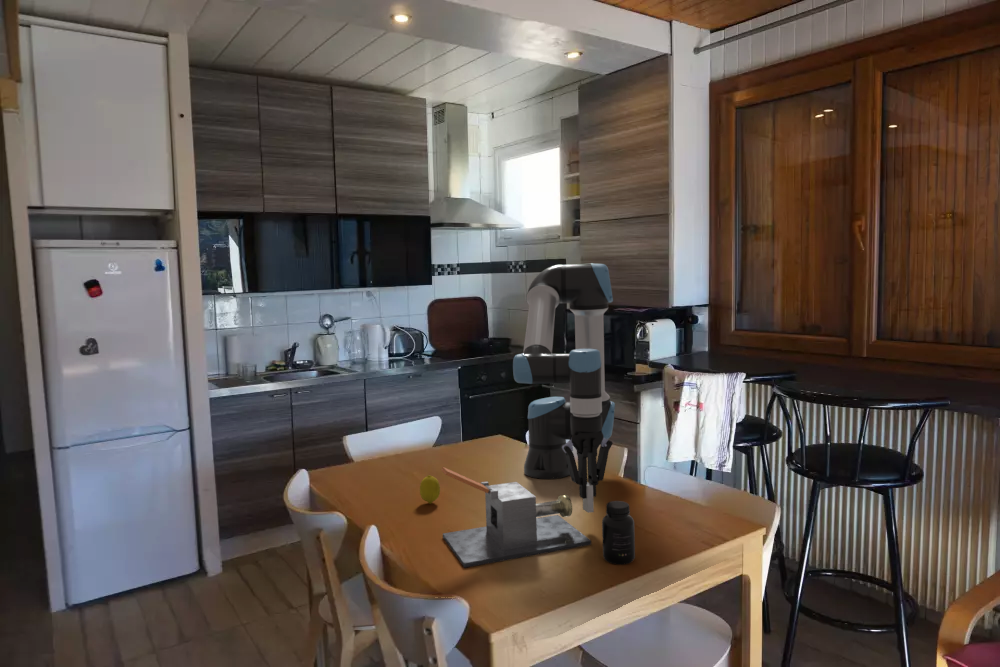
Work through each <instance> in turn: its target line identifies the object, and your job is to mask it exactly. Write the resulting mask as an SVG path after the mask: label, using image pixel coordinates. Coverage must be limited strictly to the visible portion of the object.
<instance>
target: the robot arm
mask: <svg viewBox="0 0 1000 667" xmlns="http://www.w3.org/2000/svg"><path fill="white" fill-rule="evenodd" d="M609 272H610V270H609V268H608V266H607V265H606V264H605V263H593V262H591V263H577V264H576V263H575V264H555V265H551V266H549V267H547V268H545V269H544V270H542V271H541V272H540V273H538V274H537V275H536V277H534V279H533V280H532V282H531V283H530V285H529V287H528V289H527V294H526V302H527V304H528V314H527V320H526V330H525V335H524V336H525V337H524V343H523V344H524V345H523V352H522V353H518V354H515V355H514V357H513V360H512V372H513V373H512V374H513V379H514V382H516V383H518V384H529V385H532V384H533V385H534V384H535V385H536V384H569V401H566V398H565V397H564V396H549V397H544V398H539V399H535V400H533V401H531V402H530V403H529V405H528V407H527V408H528V409H527V411H528V412H527V419H528V452H527V454H526V457H525V462H524V464H523V471H524V472H523V473H524V474H525V476H528V477H530V478H534V479H541V480H551V479H561V478H565V477H568V476H570V480H571V481H572V482H573V483H575V484H576V485H578V486H579V489H578V490H579V492H578V493H579V497H580V498H581V499H582V510H584V511H585V512H587V513H594V510H595V509H594V498H595V497H596V496H597V486H599V482H602V481H604V478H605V473H606V468H607V462H608V458H609V452H610V449H611V448H612V446H613V441H611V440H610V438H612V437H611V436H612V435H613V429H614V420H615V408H616V405H615V404H616V403H615V402H614V401H611V396H610V394H608V393H607V391H606V387H605V386H606V383H605V379H606V378H605V375H606V374H605V337H604V336H605V332H604V331H605V330H604V314H605V313H606V312H607V310H608V309H609V304H610V303H613V302H614V297H613V290H612V284H611V279H610V278H611V277H610V273H609ZM560 304H569V310H570V311H571V312H572V313H573V315H574V335H575V338H574V339H575V341H574V342H575V343H574V344H575V349H571V350H570V352H569V353H553V348H554V346H553V345H554V330H555V316H556V308H557V307H558V306H559V305H560ZM567 440H568V441H567ZM598 448H599V449H598ZM574 449H575V450H576V455H577V461H576V458H575V455H574V452H573V451H574Z"/></svg>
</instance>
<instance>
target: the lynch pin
mask: <svg viewBox="0 0 1000 667" xmlns="http://www.w3.org/2000/svg"><path fill="white" fill-rule="evenodd" d="M572 514H573V503H572V500H571V498H570V496H569V495H568V494H562V495H559V496H558V497H557V500H552V501H545V502H540V503H536V518H541V517H548V516H554V515H559V516H560V517H561V518H567V517H571V516H572Z"/></svg>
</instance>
